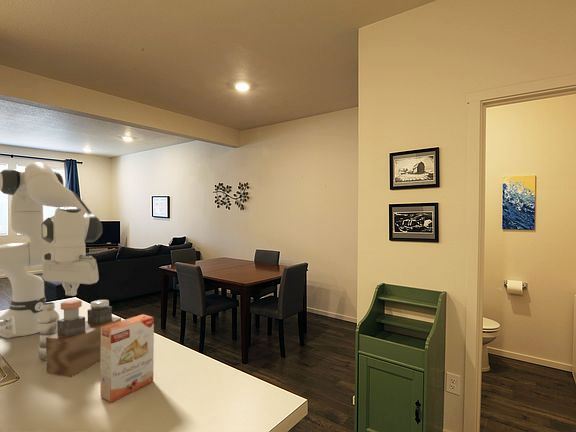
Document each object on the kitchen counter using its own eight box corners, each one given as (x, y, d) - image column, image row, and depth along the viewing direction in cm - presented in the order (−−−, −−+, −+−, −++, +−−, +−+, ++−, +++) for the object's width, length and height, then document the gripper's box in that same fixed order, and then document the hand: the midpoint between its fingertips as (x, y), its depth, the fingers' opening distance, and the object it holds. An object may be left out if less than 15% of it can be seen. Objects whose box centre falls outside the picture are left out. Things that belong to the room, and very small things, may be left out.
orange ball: (56, 323, 110) (56, 304, 110) (72, 317, 116) (72, 299, 116) (70, 324, 109) (70, 305, 109) (86, 318, 115) (85, 300, 114)
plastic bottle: (49, 363, 116) (48, 307, 115) (33, 361, 117) (32, 305, 117) (64, 355, 122) (64, 301, 122) (49, 353, 124) (48, 300, 123)
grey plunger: (86, 320, 122) (86, 303, 122) (99, 315, 128) (99, 299, 128) (100, 322, 120) (99, 304, 120) (112, 317, 126) (112, 300, 126)
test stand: (46, 373, 109) (45, 322, 109) (100, 345, 131) (99, 303, 130) (70, 377, 107) (70, 325, 106) (121, 348, 128) (120, 305, 128)
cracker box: (111, 404, 92) (110, 330, 92) (99, 397, 96) (98, 326, 95) (155, 381, 104) (154, 316, 104) (143, 376, 108) (142, 313, 107)
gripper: (103, 254, 112) (103, 295, 113) (55, 252, 117) (56, 291, 118) (87, 257, 106) (88, 300, 106) (38, 254, 111) (39, 295, 112)
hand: (71, 295), depth 112 cm, fingers closed
